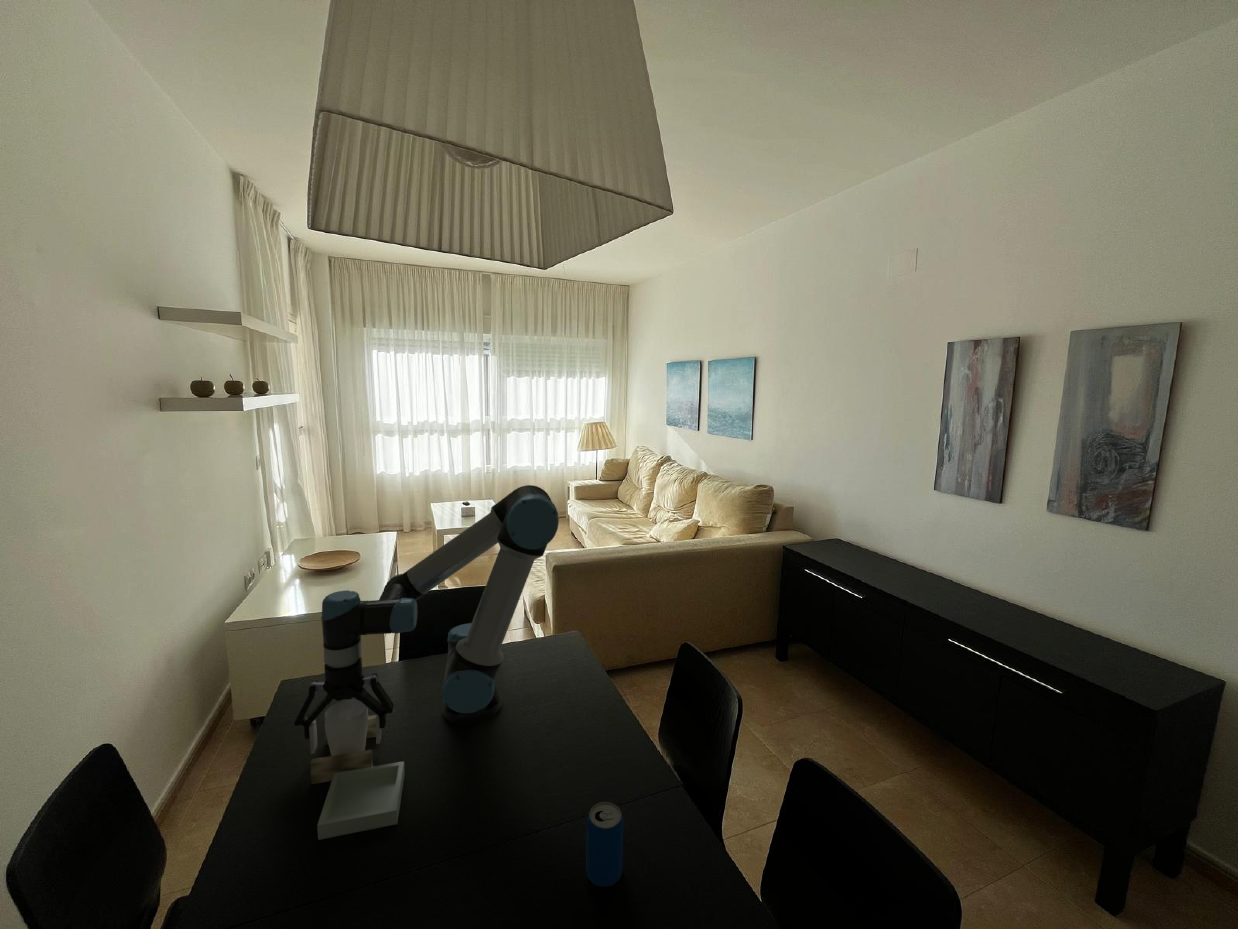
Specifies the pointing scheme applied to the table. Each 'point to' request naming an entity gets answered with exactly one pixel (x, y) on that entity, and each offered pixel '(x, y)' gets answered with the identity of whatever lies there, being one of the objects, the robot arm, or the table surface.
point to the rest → (342, 760)
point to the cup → (346, 726)
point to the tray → (362, 800)
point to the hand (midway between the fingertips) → (347, 745)
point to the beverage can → (604, 844)
